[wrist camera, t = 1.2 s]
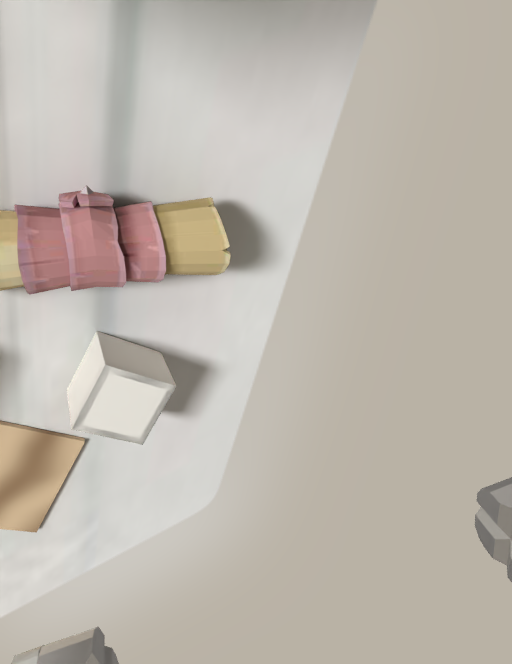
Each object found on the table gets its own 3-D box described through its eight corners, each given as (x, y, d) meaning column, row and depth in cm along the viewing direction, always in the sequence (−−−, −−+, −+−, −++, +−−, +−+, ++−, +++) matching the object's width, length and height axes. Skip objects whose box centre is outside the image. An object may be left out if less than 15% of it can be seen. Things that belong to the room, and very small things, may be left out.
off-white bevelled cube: (66, 389, 45) (71, 429, 40) (96, 331, 44) (105, 364, 39) (131, 406, 49) (142, 444, 44) (160, 352, 47) (176, 386, 42)
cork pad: (-62, 518, 46) (-62, 523, 46) (-14, 418, 43) (-15, 421, 43) (36, 528, 51) (36, 532, 50) (84, 438, 48) (85, 441, 48)
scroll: (213, 164, 39) (-79, 158, 32) (240, 226, 35) (-86, 236, 28) (199, 236, 45) (-50, 245, 38) (221, 296, 41) (-54, 320, 34)
